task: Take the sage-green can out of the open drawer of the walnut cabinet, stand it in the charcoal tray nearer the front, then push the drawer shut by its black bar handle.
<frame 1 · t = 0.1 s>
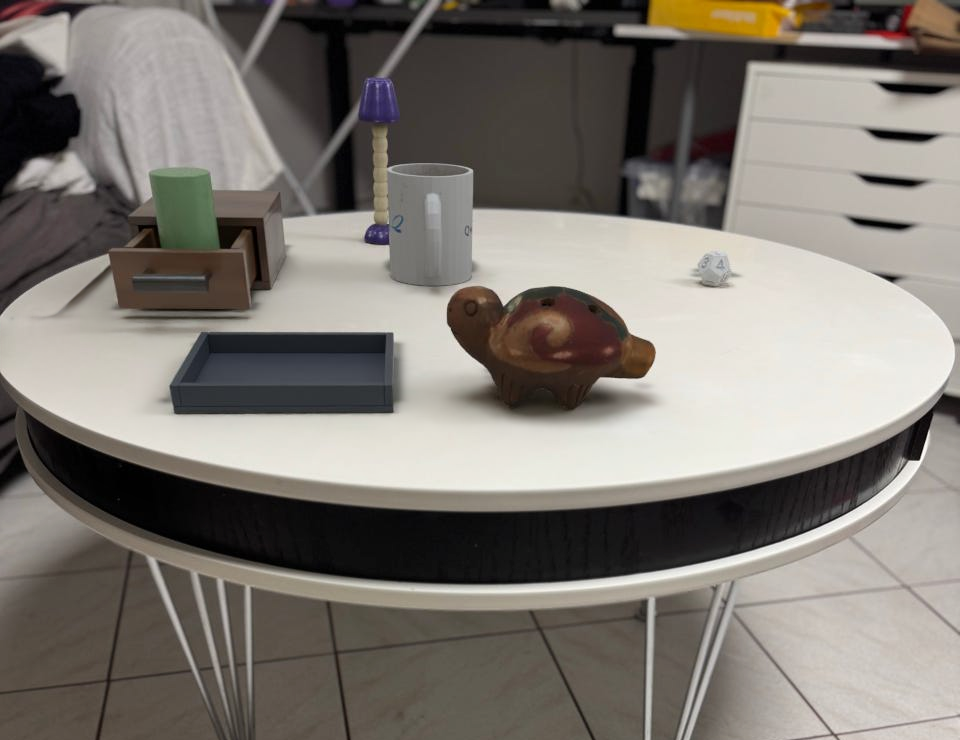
cabinet: (218, 271, 95), on the table
drawer: (190, 267, 83), point 3 cm above the table, slide at 9.0 cm, touching can
mug: (428, 281, 95), on the table
tray: (293, 382, 68), on the table
decorative turtle: (547, 399, 68), on the table
can: (195, 278, 85), point 2 cm above the table, touching drawer
game die: (711, 285, 96), on the table
toy lamp: (382, 243, 109), on the table
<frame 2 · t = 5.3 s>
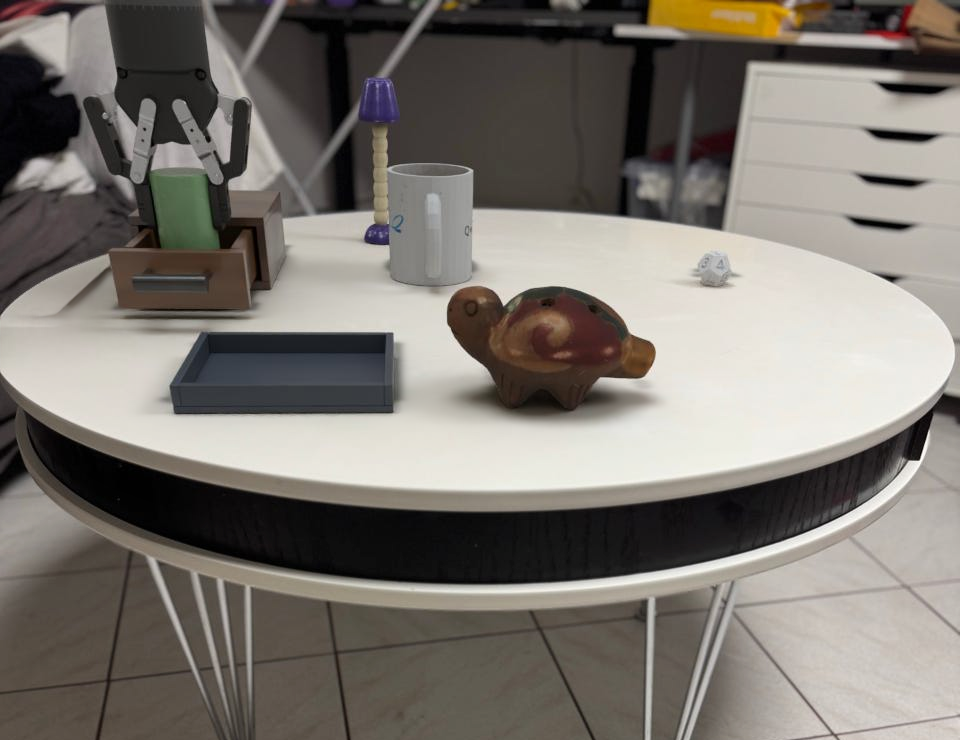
hand: (187, 227, 82), 6 cm above the table, tool pointing down, fingers closed on can, 5 cm apart
can: (195, 278, 85), point 2 cm above the table, touching drawer, gripper
everything else where it was.
when the fingers open (5 cm above the table, at t = 13.5 s): can stays where it is, resting on tray.
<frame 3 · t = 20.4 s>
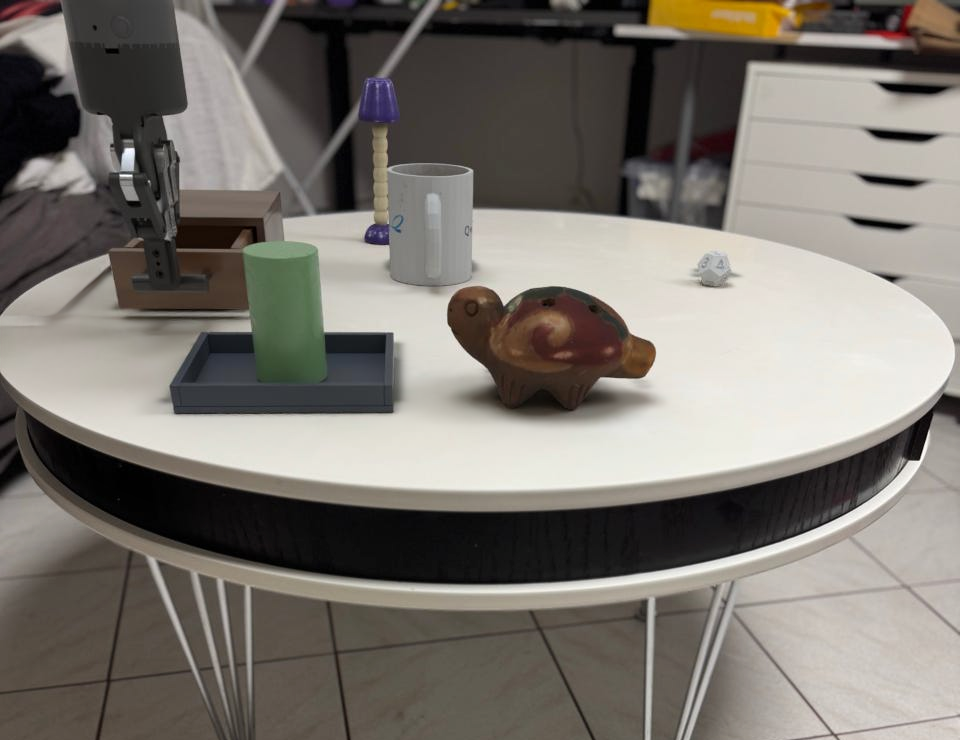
hand: (166, 288, 75), 4 cm above the table, tool pointing down, fingers closed
drawer: (190, 267, 83), point 3 cm above the table, slide at 9.0 cm, touching gripper
can: (292, 376, 68), resting on tray
everything else where it was.
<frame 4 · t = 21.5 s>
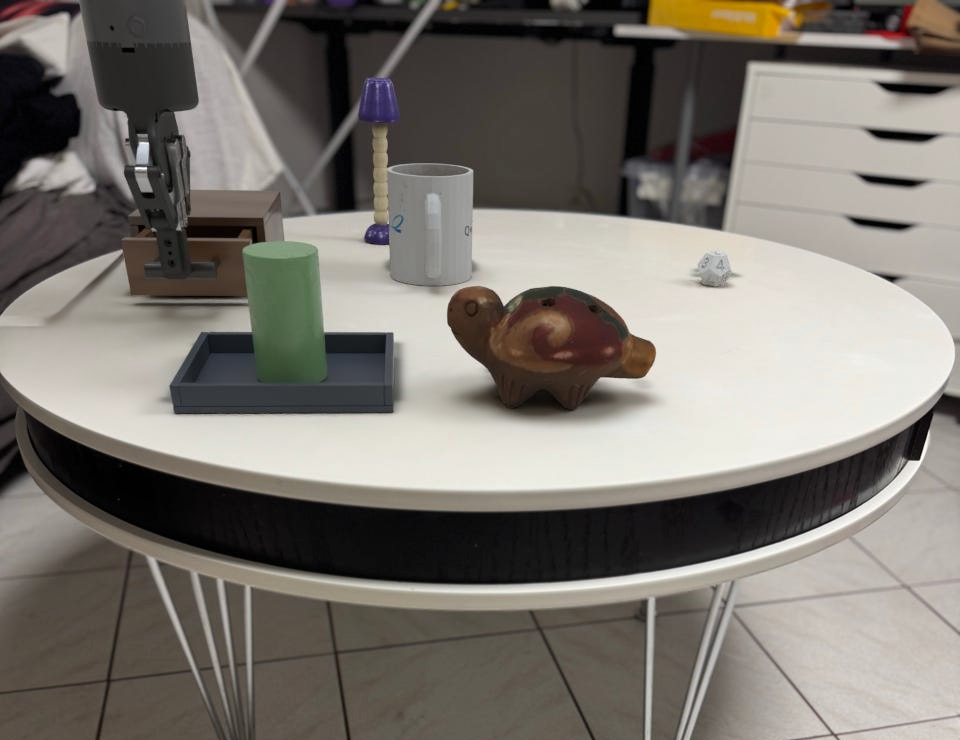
hand: (178, 276, 78), 4 cm above the table, tool pointing down, fingers closed
drawer: (198, 256, 86), point 3 cm above the table, slide at 4.7 cm, touching gripper
everything else where it was.
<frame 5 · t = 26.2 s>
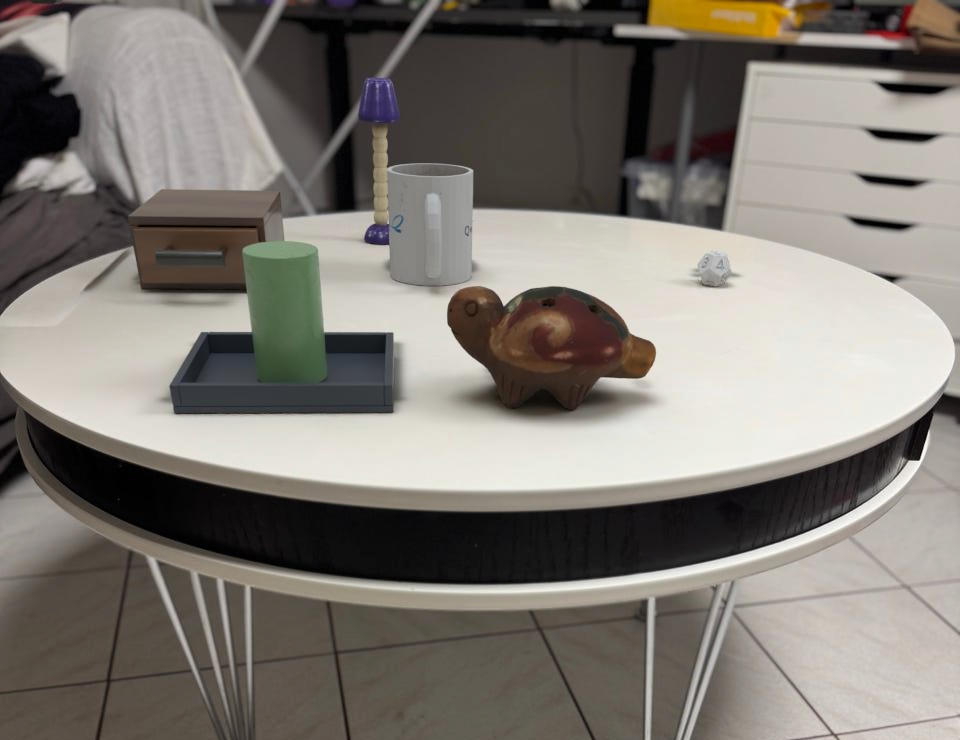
hand: (46, 3, 69), 23 cm above the table, tool pointing down, fingers closed
drawer: (207, 246, 90), point 3 cm above the table, slide at 0.2 cm
everything else where it was.
at the end: can inside the target area in the tray (0.0 cm from its centre), point 0.5 cm above the tray's base; can tilted 0°; drawer slide at 0.2 cm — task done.
